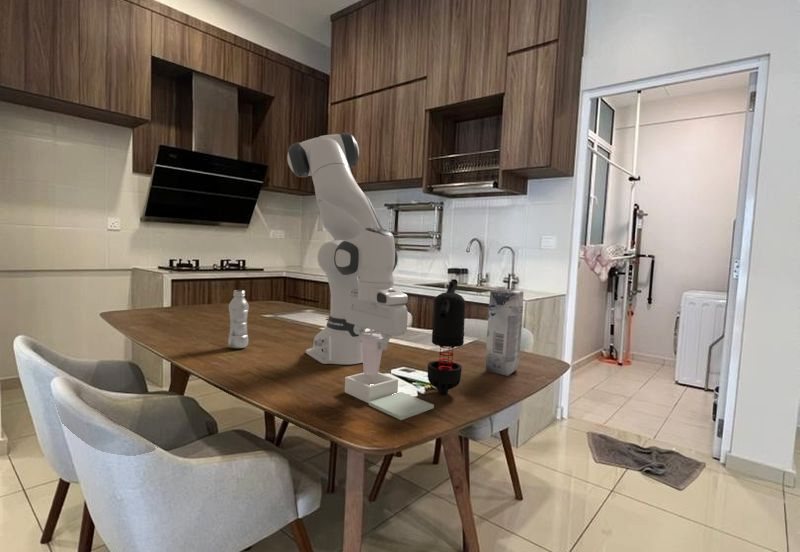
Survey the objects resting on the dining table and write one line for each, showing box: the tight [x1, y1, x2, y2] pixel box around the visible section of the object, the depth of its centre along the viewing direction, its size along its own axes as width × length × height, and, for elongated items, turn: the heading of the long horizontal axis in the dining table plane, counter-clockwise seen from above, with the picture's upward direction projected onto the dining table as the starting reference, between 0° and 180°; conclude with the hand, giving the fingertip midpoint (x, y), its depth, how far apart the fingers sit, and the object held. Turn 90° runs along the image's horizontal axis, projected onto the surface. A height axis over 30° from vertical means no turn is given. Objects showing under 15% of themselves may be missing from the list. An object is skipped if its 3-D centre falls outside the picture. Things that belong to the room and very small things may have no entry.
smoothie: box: [360, 329, 383, 375], centre depth 108 cm, size 6×6×14 cm
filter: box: [427, 278, 466, 396], centre depth 109 cm, size 14×9×30 cm
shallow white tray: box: [344, 371, 399, 404], centre depth 108 cm, size 10×10×4 cm
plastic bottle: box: [227, 289, 250, 350], centre depth 145 cm, size 6×7×20 cm
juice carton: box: [485, 285, 524, 377], centre depth 133 cm, size 9×10×27 cm
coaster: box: [368, 391, 435, 421], centre depth 101 cm, size 11×11×1 cm
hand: (372, 346), depth 108 cm, fingers closed on smoothie, 6 cm apart
